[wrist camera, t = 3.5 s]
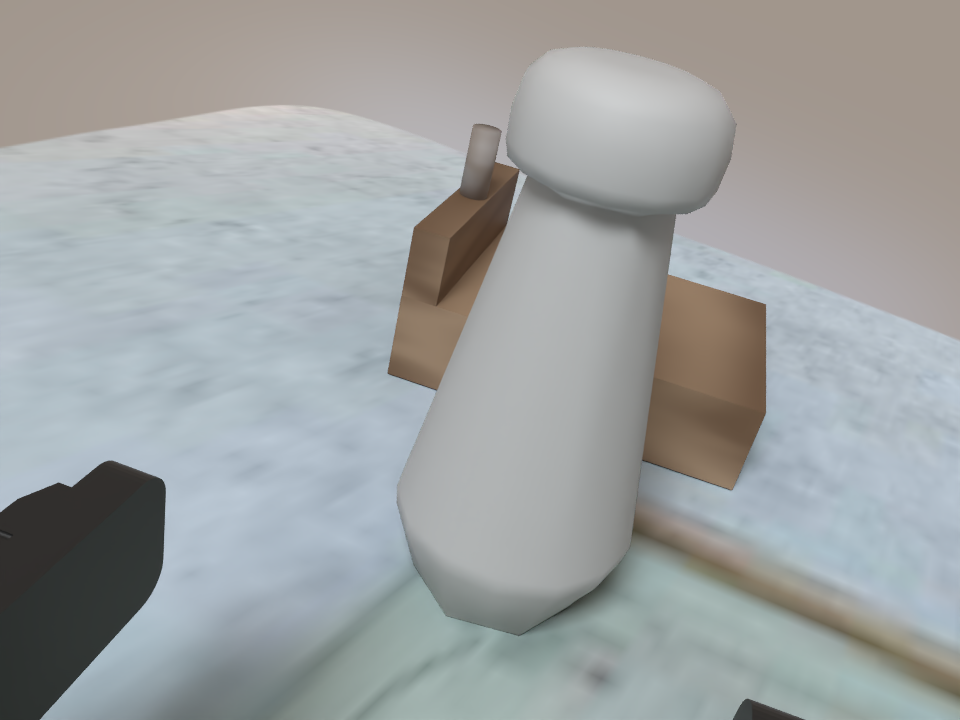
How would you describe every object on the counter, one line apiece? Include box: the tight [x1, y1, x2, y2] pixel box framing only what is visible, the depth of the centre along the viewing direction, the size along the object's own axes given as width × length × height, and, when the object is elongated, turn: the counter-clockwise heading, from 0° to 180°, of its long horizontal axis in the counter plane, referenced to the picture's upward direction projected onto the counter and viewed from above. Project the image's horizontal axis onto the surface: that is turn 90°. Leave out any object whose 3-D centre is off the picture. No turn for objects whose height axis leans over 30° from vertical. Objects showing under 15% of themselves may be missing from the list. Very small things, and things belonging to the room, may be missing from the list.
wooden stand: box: [388, 124, 766, 490], centre depth 31 cm, size 12×9×8 cm
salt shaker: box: [397, 47, 737, 636], centre depth 20 cm, size 6×6×13 cm
